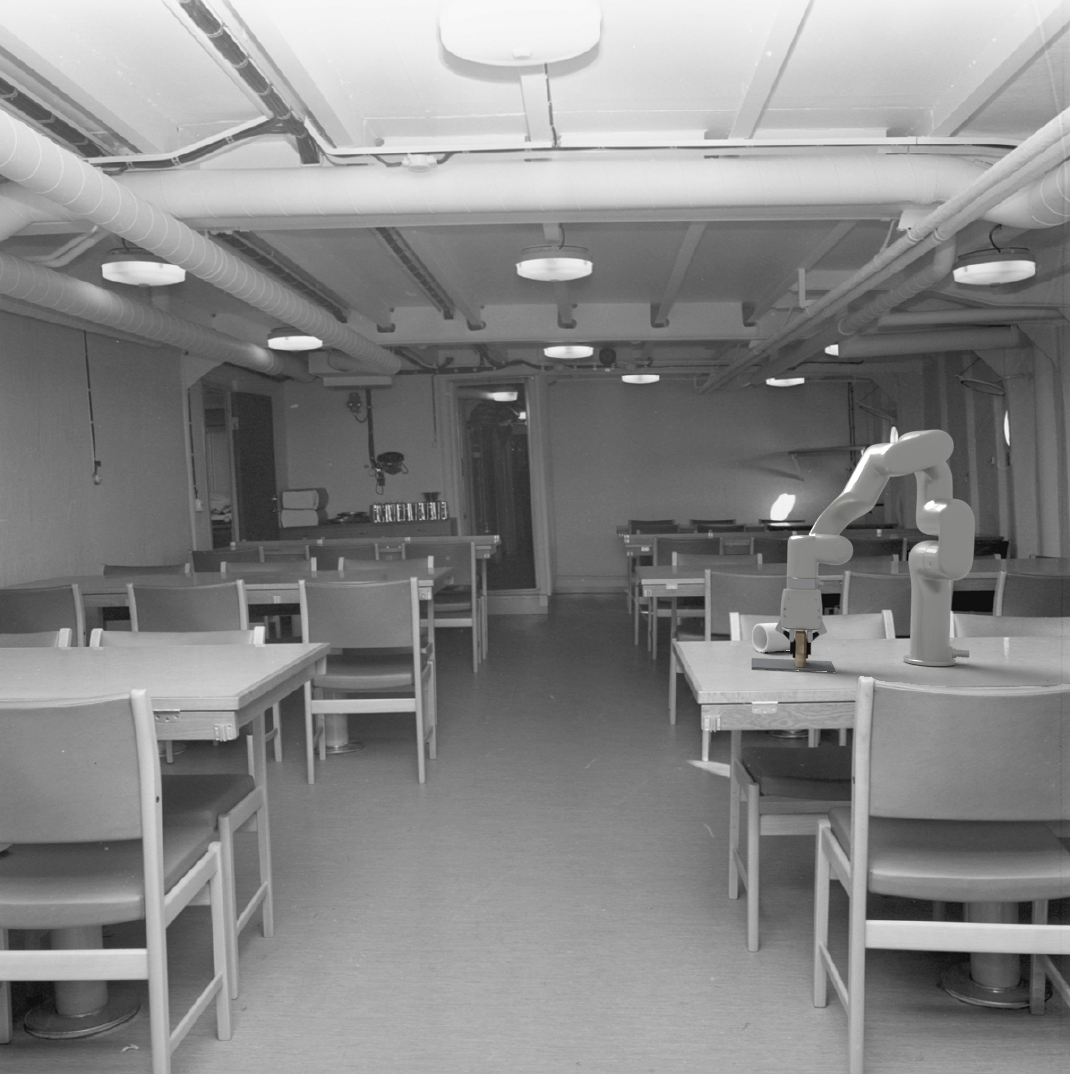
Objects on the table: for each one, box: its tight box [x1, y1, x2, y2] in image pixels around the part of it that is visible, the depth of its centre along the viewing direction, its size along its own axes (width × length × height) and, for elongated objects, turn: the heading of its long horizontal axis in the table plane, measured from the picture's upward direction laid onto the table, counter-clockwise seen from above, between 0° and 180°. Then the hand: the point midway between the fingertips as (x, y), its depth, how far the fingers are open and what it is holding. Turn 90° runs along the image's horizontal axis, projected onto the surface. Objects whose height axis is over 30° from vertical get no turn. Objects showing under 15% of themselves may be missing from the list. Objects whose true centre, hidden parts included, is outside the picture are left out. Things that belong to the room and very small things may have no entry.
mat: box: [751, 657, 837, 673], centre depth 251 cm, size 20×14×1 cm
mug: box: [751, 622, 795, 654], centre depth 276 cm, size 12×10×8 cm
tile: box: [793, 630, 807, 667], centre depth 250 cm, size 2×9×8 cm, turn 167°
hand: (800, 656), depth 250 cm, fingers closed on tile, 2 cm apart
